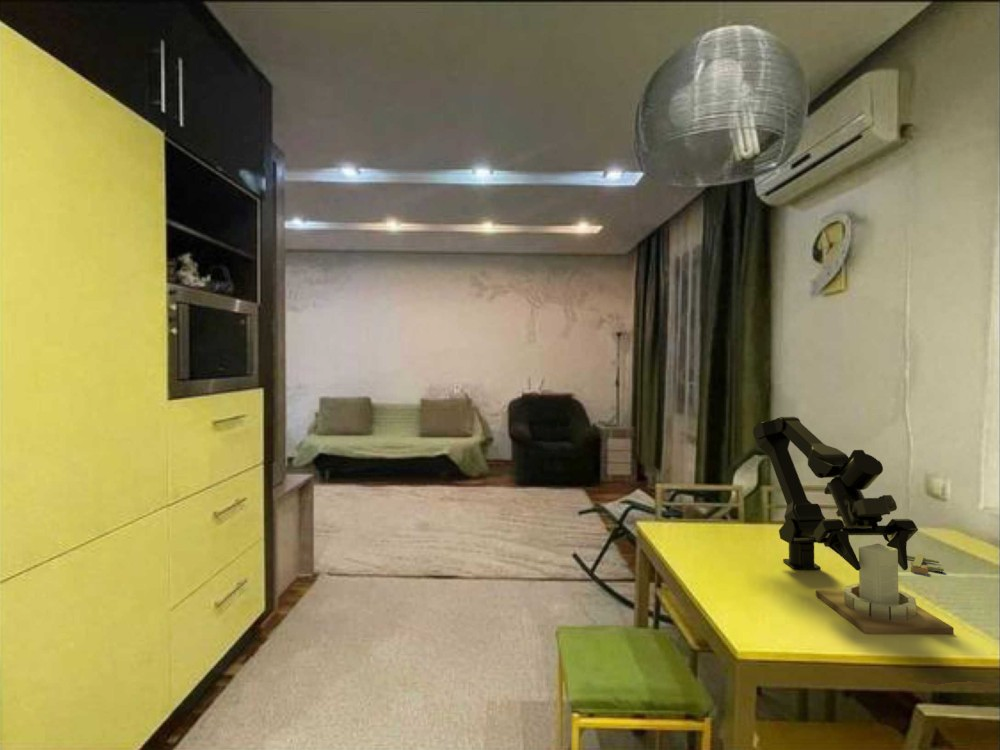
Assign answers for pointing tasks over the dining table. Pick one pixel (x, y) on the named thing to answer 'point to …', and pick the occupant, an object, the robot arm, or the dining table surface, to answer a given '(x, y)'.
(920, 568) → the clamp
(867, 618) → the walnut fitting board
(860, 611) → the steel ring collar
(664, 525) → the dining table surface
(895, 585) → the skincare box
